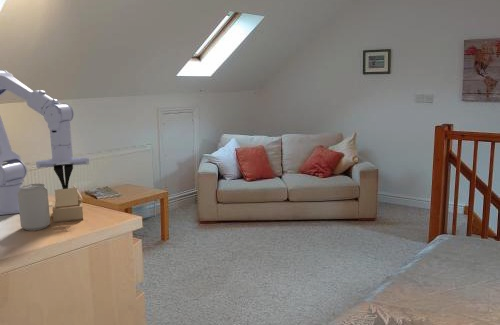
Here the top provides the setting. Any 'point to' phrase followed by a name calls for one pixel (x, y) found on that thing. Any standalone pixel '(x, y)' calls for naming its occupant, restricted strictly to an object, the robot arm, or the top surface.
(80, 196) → the side flap
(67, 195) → the long flap
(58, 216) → the carton
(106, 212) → the top surface
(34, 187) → the can
